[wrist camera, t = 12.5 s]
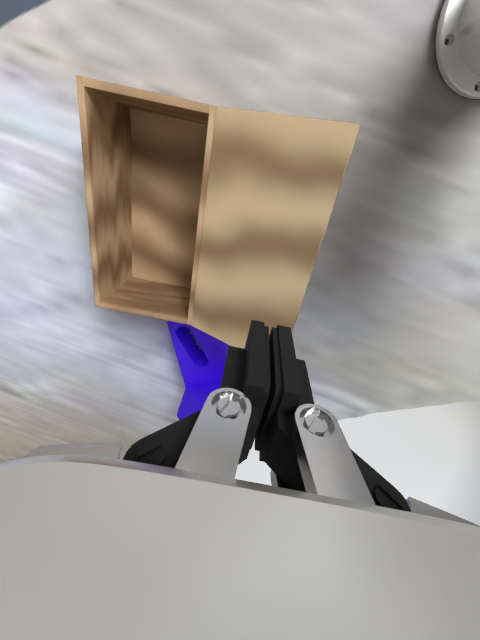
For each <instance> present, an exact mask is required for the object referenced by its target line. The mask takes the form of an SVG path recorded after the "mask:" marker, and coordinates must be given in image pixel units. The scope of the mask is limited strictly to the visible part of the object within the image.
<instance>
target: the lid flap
mask: <svg viewBox="0 0 480 640" xmlns="http://www.w3.org/2000/svg"><path fill="white" fill-rule="evenodd" d="M359 129H360V124H358V123H350V122H342V121H333V120H325V119H317V118H309V117H301V116H293V115H285V114H277V113H268V112H260V111H252V110H244V109H236V108H228V107H220V106H217V109H216V117H215V126H214V135H213V143H212V152H211V161H210V170H209V178H208V187H207V196H206V204H205V213H204V222H203V231H202V239H201V248H200V257H199V265H198V274H197V283H196V291H195V300H194V309H193V318H192V326H193V327H195V328H197V329H199V330H201V331H203V332H205V333H207V334H209V335H211V336H213V337H215V338H217V339H219V340H221V341H223V342H225V343H227V344H228V345H230V346H234V347H239V348H244V349H245V345H246V340H247V336H248V332H249V328H250V324H251V320H256V321H261V322H264V326H269V335H270V332H271V329H272V327H274V328H276V327H277V325H281V326H286V327H290V328H291V332H292V331H293V328H294V325H295V322H296V319H297V316H298V313H299V310H300V307H301V304H302V301H303V298H304V295H305V292H306V289H307V286H308V283H309V280H310V277H311V274H312V270H313V267H314V264H315V261H316V258H317V255H318V252H319V249H320V246H321V243H322V240H323V237H324V234H325V231H326V228H327V225H328V222H329V219H330V216H331V213H332V210H333V207H334V204H335V201H336V198H337V195H338V192H339V189H340V186H341V183H342V180H343V177H344V174H345V171H346V168H347V165H348V162H349V159H350V156H351V153H352V150H353V147H354V144H355V141H356V138H357V135H358V132H359Z"/></svg>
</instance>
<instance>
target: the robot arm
mask: <svg viewBox="0 0 480 640" xmlns="http://www.w3.org/2000/svg"><path fill="white" fill-rule="evenodd" d="M445 41H446V42H447V43H446V45H445ZM435 45H436V59H437V63H438V67H439V71H440V73H441V75H442V77H443V79H444V81H445V82H446V84H447V85H448V86H449V87H450V88H451V89H452V90H453V91H455V92H456V93H458V94H459V95H461V96H464V97H467V98H471V99H480V0H445V2H444V4H443V7H442V9H441V13H440V17H439V21H438V26H437V33H436V43H435ZM474 87H475V90H474ZM254 439H255V450H257V451H260V461H264V462H266V463H267V465H268V466H269V467H270V468H271V469H272V470H271V483H272V486H269V485H264V484H259V483H253V482H247V481H243V480H237V479H234V478H235V474H236V470H237V466H238V464H240V463H241V462H242V461H244V460H245V459H247V456H248V453H249V450H250V449H251V447H252V445H253V442H254ZM0 640H480V527H479V526H478V525H476V524H474V523H472V522H469V521H467V520H465V519H462V518H460V517H457V516H455V515H452V514H450V513H448V512H445V511H443V510H440V509H437V508H435V507H433V506H430V505H428V504H426V503H423V502H421V501H418V500H416V499H413V498H411V497H409V498H408V499H407V500H406V499H405V498H404V497H403V495H401V493H400V492H399V491H398V490H397V489H396V488H395V487H394V486H392V485H391V484H390V483H389V482H388V481H387V480H386V479H384V478H383V477H382V476H381V475H380V474H379V473H377V472H376V471H375V470H374V469H373V468H372V467H371V466H369V465H368V464H367V463H366V462H365V461H364V460H363V459H361V458H360V457H359V456H358V455H357V454H356V453H354V452H353V451H352V450H351V449H350V448H349V446H348V443H347V441H346V439H345V437H344V435H343V432H342V430H341V428H340V426H339V424H338V422H337V420H336V419H335V417H334V416H333V415H332V414H331V413H330V412H329V411H327V410H326V409H324V408H323V407H320V406H318V405H314V401H313V396H312V391H311V387H310V382H309V378H308V373H307V368H306V364H305V361H304V360H299V359H296V355H295V350H294V344H293V338H292V332H291V328H290V327H286V326H281V325H277V327H276V328H274V327H272V329H271V332H270V335H269V326H264V322H261V321H256V320H251V324H250V328H249V332H248V336H247V340H246V345H245V349H244V348H239V347H234V346H229V347H228V352H227V357H226V362H225V367H224V372H223V377H222V382H221V387H220V389H217V390H215V391H213V392H212V393H210V395H209V396H208V397H207V400H206V402H205V404H204V406H203V408H202V409H201V410H199V411H197V412H195V413H193V414H191V415H189V416H187V417H185V418H183V419H181V420H179V421H177V422H175V423H173V424H171V425H169V426H167V427H165V428H163V429H161V430H159V431H157V432H155V433H153V434H151V435H149V436H147V437H145V438H142V439H140V440H139V441H137V442H136V443H134V444H133V445H132V446H121V443H92V444H57V445H47V446H41V447H39V448H37V449H35V450H32V451H30V452H29V453H28V454H26V455H25V456H24V457H22V458H21V459H16V460H11V461H7V462H3V463H0Z"/></svg>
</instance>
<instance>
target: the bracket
mask: <svg viewBox="0 0 480 640" xmlns="http://www.w3.org/2000/svg"><path fill="white" fill-rule="evenodd" d="M167 323H168V327H169V330H170V334H171V337H172V341H173V344H174V348H175V351H176V355H177V358H178V362H179V365H180V369H181V372H182V376H183V379H184V383H185V386H186V390H185V393H184V395H183V398H182V401H181V404H180V407H179V410H178V413H177V417H178V419H179V420H181V419H183V418H185V417H187V416H189V415H191V414H193V413H195V412H197V411H199V410H201V409H202V408H203V406H204V404H205V402H206V400H207V397H208V396H209V395H210V393H212V392H213V391H215V390H217V389H220V387H221V382H222V377H223V372H224V367H225V362H226V357H227V352H228V347H229V346H230V345H228V344H227V343H225V342H223V341H221V340H219V339H217V338H215V337H213V336H211V335H209V334H207V333H205V332H203V331H201V330H199V329H197V328H195V327H193V326H192V325H188V324H183V323H178V322H173V321H167ZM186 327H188V328H189V329H190V330H191V331H192V333H193V335H194V336H195V338H196V340H197V341H198V343H199V345H200V346H201V348H202V350H203V351H204V352H203V351H201V350H200V349H199V347H198V346H197V344H196V342H195V341H194V339H193V337H192V336H191V334H190V333H189V331H188V329H187V328H186Z"/></svg>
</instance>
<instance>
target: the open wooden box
mask: <svg viewBox="0 0 480 640" xmlns="http://www.w3.org/2000/svg"><path fill="white" fill-rule="evenodd" d="M76 80H77V92H78V104H79V115H80V127H81V139H82V151H83V163H84V175H85V187H86V199H87V211H88V222H89V234H90V246H91V258H92V270H93V282H94V294H95V306H96V307H101V308H107V309H112V310H117V311H122V312H127V313H132V314H137V315H142V316H147V317H152V318H158V319H163V320H168V321H173V322H178V323H183V324H188V325H192V318H193V309H194V300H195V291H196V283H197V274H198V265H199V257H200V248H201V239H202V231H203V222H204V213H205V204H206V196H207V187H208V178H209V170H210V161H211V152H212V143H213V135H214V126H215V117H216V109H217V106H213V105H208V104H204V103H199V102H195V101H190V100H186V99H181V98H177V97H172V96H167V95H163V94H158V93H154V92H149V91H145V90H140V89H136V88H131V87H127V86H122V85H118V84H113V83H108V82H104V81H99V80H95V79H90V78H86V77H81V76H77V75H76Z"/></svg>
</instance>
